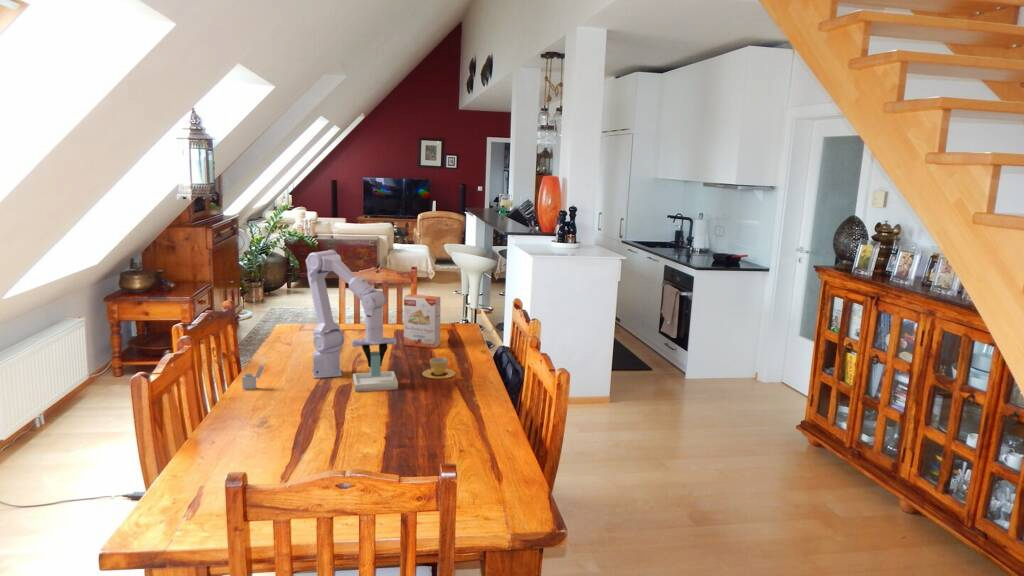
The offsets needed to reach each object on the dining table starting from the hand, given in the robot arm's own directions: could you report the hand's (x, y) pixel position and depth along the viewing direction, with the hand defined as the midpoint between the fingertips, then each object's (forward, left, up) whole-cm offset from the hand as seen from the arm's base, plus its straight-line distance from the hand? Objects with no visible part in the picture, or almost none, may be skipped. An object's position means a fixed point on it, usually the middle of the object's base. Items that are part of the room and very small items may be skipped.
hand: (374, 365), depth 237 cm
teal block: (0, 0, -3) cm, 3 cm away
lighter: (-39, +5, -7) cm, 40 cm away
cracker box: (+23, +45, -7) cm, 51 cm away
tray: (0, 0, -7) cm, 7 cm away
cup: (+23, +7, -7) cm, 26 cm away
